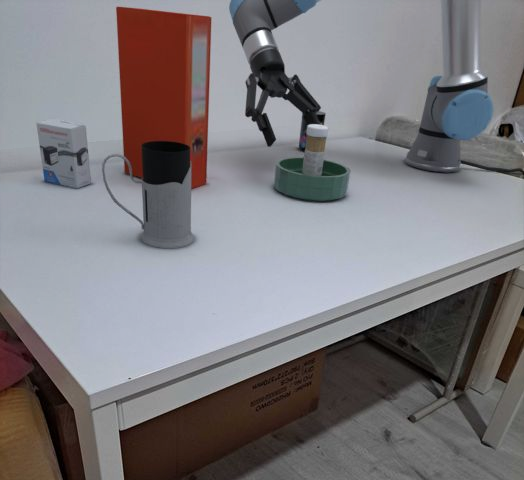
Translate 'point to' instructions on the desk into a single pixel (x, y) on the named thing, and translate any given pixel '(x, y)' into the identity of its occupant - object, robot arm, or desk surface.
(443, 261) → the desk surface
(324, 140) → the sprinkles bottle
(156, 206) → the glass holder
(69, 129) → the ink box
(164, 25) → the file binder
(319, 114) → the supplement container
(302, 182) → the bowl
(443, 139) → the robot arm
